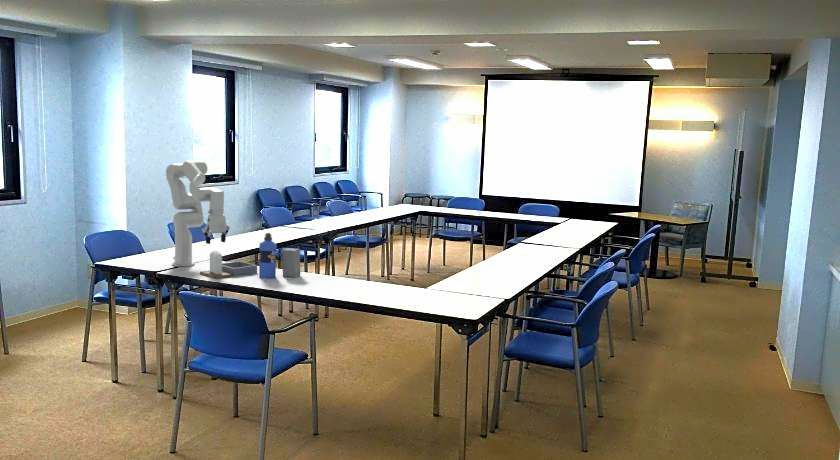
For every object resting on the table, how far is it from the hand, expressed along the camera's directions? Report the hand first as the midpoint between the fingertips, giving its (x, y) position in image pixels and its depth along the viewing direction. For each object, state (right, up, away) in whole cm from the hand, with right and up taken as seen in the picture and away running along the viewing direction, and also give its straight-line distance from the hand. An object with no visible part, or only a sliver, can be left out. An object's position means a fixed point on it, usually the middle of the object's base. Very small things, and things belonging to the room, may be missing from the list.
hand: (215, 242), depth 389 cm
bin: (+9, -17, +13) cm, 23 cm away
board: (0, -18, +2) cm, 18 cm away
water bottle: (+28, -20, +5) cm, 34 cm away
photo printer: (-1, -17, +2) cm, 17 cm away
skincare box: (+40, -19, +10) cm, 46 cm away
